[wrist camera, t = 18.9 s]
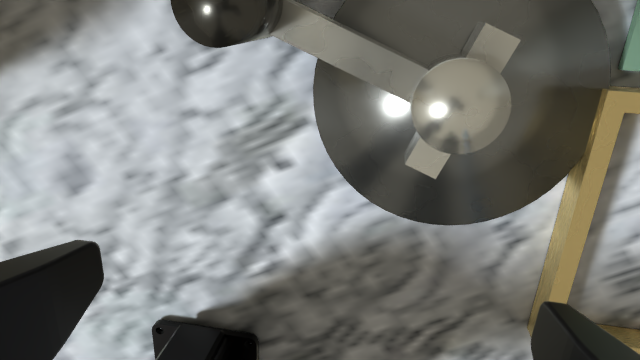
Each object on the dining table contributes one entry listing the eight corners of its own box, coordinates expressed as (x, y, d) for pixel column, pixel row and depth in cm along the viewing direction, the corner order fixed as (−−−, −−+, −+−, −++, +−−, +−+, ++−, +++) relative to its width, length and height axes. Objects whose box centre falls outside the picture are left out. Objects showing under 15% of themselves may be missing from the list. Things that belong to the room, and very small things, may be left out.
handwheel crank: (535, 49, 17) (585, 64, 13) (454, 177, 20) (472, 228, 15) (254, -89, 17) (201, -126, 13) (206, 55, 20) (147, 70, 15)
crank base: (560, 229, 21) (567, 239, 20) (311, 201, 23) (308, 210, 22) (638, -55, 17) (652, -58, 16) (323, -64, 18) (320, -68, 17)
